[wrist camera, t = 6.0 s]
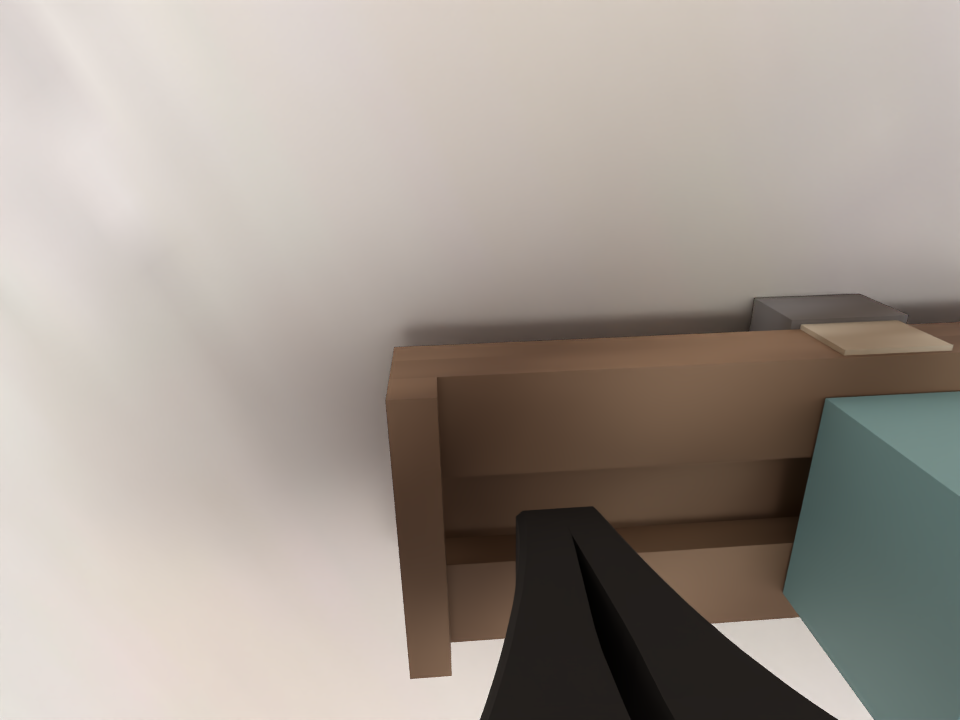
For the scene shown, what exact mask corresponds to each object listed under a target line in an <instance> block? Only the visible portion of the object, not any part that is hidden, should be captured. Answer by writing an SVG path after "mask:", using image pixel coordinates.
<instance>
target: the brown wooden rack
mask: <svg viewBox="0 0 960 720" xmlns="http://www.w3.org/2000/svg"><path fill="white" fill-rule="evenodd" d="M908 316H909V315H908V314H905V313H903V312H901V311H898V310H896V309H894V308H891V307H889V306H887V305H884V304H882V303H880V302H877V301H875V300H873V299H870V298H868V297H866V296H863V295H861V294H846V295H822V296H797V297H773V298H755V300H754V306H753V312H752V319H751V325H750V331H748V332H725V333H703V334H680V335H658V336H635V337H613V338H590V339H567V340H545V341H522V342H500V343H477V344H455V345H432V346H409V347H394V352H393V358H392V364H391V370H390V376H389V382H388V388H387V394H386V400H385V401H386V412H387V423H388V434H389V445H390V457H391V468H392V479H393V490H394V502H395V513H396V524H397V535H398V546H399V558H400V569H401V580H402V591H403V602H404V614H405V625H406V636H407V647H408V658H409V670H410V679H415V678H429V677H442V676H452V671H451V642H463V641H477V640H490V639H504V638H505V636H506V632H507V627H508V623H509V619H510V614H511V610H512V605H513V600H514V593H515V586H516V516H517V515H518V514H519V513H520V512H522V511H524V510H540V509H556V508H572V507H588V506H593V507H594V508H596V509H597V510H598V511H599V512H600V513H601V514H602V516H603V517H604V518H605V519H606V520H607V521H608V522H609V523H610V524H611V525H612V527H613V528H614V529H615V530H616V531H617V532H618V533H619V534H620V535H621V536H622V537H623V539H624V540H625V541H626V542H627V543H628V544H629V545H630V546H631V547H632V548H633V549H634V550H635V551H636V552H637V553H638V554H639V555H640V557H641V558H642V559H643V560H644V561H645V562H646V563H647V564H648V565H649V566H650V567H651V568H652V569H653V570H654V571H655V572H656V573H657V574H658V575H659V576H660V577H661V578H662V579H663V580H664V581H665V582H666V583H667V584H668V585H669V586H670V587H672V588H673V589H674V590H675V591H676V592H677V593H678V594H679V595H680V596H681V597H682V598H683V599H684V600H685V601H686V602H687V603H688V604H689V605H690V606H691V607H693V608H694V609H695V610H696V611H697V612H698V613H699V614H700V615H701V616H703V617H704V618H705V619H706V620H707V621H708V622H709V623H710V624H711V623H725V622H739V621H752V620H766V619H780V618H794V617H800V616H799V615H798V614H797V612H796V611H795V610H794V608H793V607H792V605H791V604H790V603H789V601H788V600H787V598H786V597H785V596H784V594H783V590H784V585H785V581H786V576H787V571H788V567H789V562H790V558H791V553H792V549H793V544H794V540H795V535H796V531H797V526H798V521H799V517H800V512H801V508H802V503H803V499H804V494H805V490H806V485H807V481H808V476H809V472H810V467H811V462H812V458H813V453H814V449H815V444H816V440H817V435H818V431H819V426H820V422H821V417H822V412H823V408H824V403H825V399H826V398H839V397H859V396H878V395H898V394H917V393H937V392H956V391H960V322H951V323H929V324H906V323H907V319H908Z"/></svg>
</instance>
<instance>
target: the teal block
mask: <svg viewBox="0 0 960 720" xmlns="http://www.w3.org/2000/svg"><path fill="white" fill-rule="evenodd" d="M783 594H784V596H785V597H786V598H787V600H788V601H789V603H790V604H791V605H792V607H793V608H794V610H795V611H796V612H797V614H798V615H799V616H800V618H801V619H802V621H803V622H804V623H805V625H806V626H807V628H808V629H809V630H810V632H811V633H812V634H813V636H814V637H815V639H816V640H817V641H818V643H819V644H820V646H821V647H822V648H823V650H824V651H825V652H826V654H827V655H828V657H829V658H830V659H831V661H832V662H833V663H834V665H835V666H836V668H837V669H838V670H839V672H840V673H841V675H842V676H843V677H844V679H845V680H846V681H847V683H848V684H849V686H850V687H851V688H852V690H853V691H854V693H855V694H856V695H857V697H858V698H859V699H860V701H861V702H862V704H863V705H864V706H865V708H866V709H867V711H868V712H869V713H870V715H871V716H872V717H873V719H874V720H960V391H956V392H937V393H917V394H898V395H878V396H859V397H839V398H826V399H825V403H824V408H823V412H822V417H821V422H820V426H819V431H818V435H817V440H816V444H815V449H814V453H813V458H812V462H811V467H810V472H809V476H808V481H807V485H806V490H805V494H804V499H803V503H802V508H801V512H800V517H799V521H798V526H797V531H796V535H795V540H794V544H793V549H792V553H791V558H790V562H789V567H788V571H787V576H786V581H785V585H784V590H783Z"/></svg>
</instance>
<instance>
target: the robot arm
mask: <svg viewBox="0 0 960 720" xmlns="http://www.w3.org/2000/svg"><path fill="white" fill-rule="evenodd" d="M480 720H838V719H836V718H835V717H833V716H832V715H830V714H829V713H827V712H826V711H824V710H823V709H821V708H820V707H818V706H817V705H815V704H814V703H812V702H811V701H809V700H808V699H807V698H805V697H804V696H802V695H801V694H799V693H798V692H797V691H795V690H794V689H792V688H791V687H790V686H788V685H787V684H785V683H784V682H783V681H782V680H780V679H779V678H778V677H776V676H775V675H774V674H772V673H771V672H770V671H768V670H767V669H766V668H764V667H763V666H762V665H761V664H759V663H758V662H757V661H755V660H754V659H753V658H751V657H750V656H749V655H747V654H746V653H745V652H744V651H742V650H741V649H740V648H739V647H737V646H736V645H735V644H734V643H732V642H731V641H730V640H729V639H728V638H727V637H725V636H724V635H723V634H722V633H721V632H720V631H718V630H717V629H716V628H715V627H714V626H713V625H712V624H710V623H709V622H708V621H707V620H706V619H705V618H704V617H703V616H701V615H700V614H699V613H698V612H697V611H696V610H695V609H694V608H693V607H691V606H690V605H689V604H688V603H687V602H686V601H685V600H684V599H683V598H682V597H681V596H680V595H679V594H678V593H677V592H676V591H675V590H674V589H673V588H672V587H670V586H669V585H668V584H667V583H666V582H665V581H664V580H663V579H662V578H661V577H660V576H659V575H658V574H657V573H656V572H655V571H654V570H653V569H652V568H651V567H650V566H649V565H648V564H647V563H646V562H645V561H644V560H643V559H642V558H641V557H640V555H639V554H638V553H637V552H636V551H635V550H634V549H633V548H632V547H631V546H630V545H629V544H628V543H627V542H626V541H625V540H624V539H623V537H622V536H621V535H620V534H619V533H618V532H617V531H616V530H615V529H614V528H613V527H612V525H611V524H610V523H609V522H608V521H607V520H606V519H605V518H604V517H603V516H602V514H601V513H600V512H599V511H598V510H597V509H596V508H594V507H593V506H588V507H572V508H556V509H540V510H524V511H522V512H520V513H519V514H518V515H517V516H516V586H515V593H514V600H513V605H512V610H511V614H510V619H509V623H508V627H507V632H506V636H505V640H504V645H503V648H502V652H501V656H500V659H499V663H498V666H497V670H496V673H495V676H494V680H493V683H492V686H491V689H490V692H489V695H488V698H487V701H486V704H485V707H484V710H483V713H482V715H481V718H480Z"/></svg>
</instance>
